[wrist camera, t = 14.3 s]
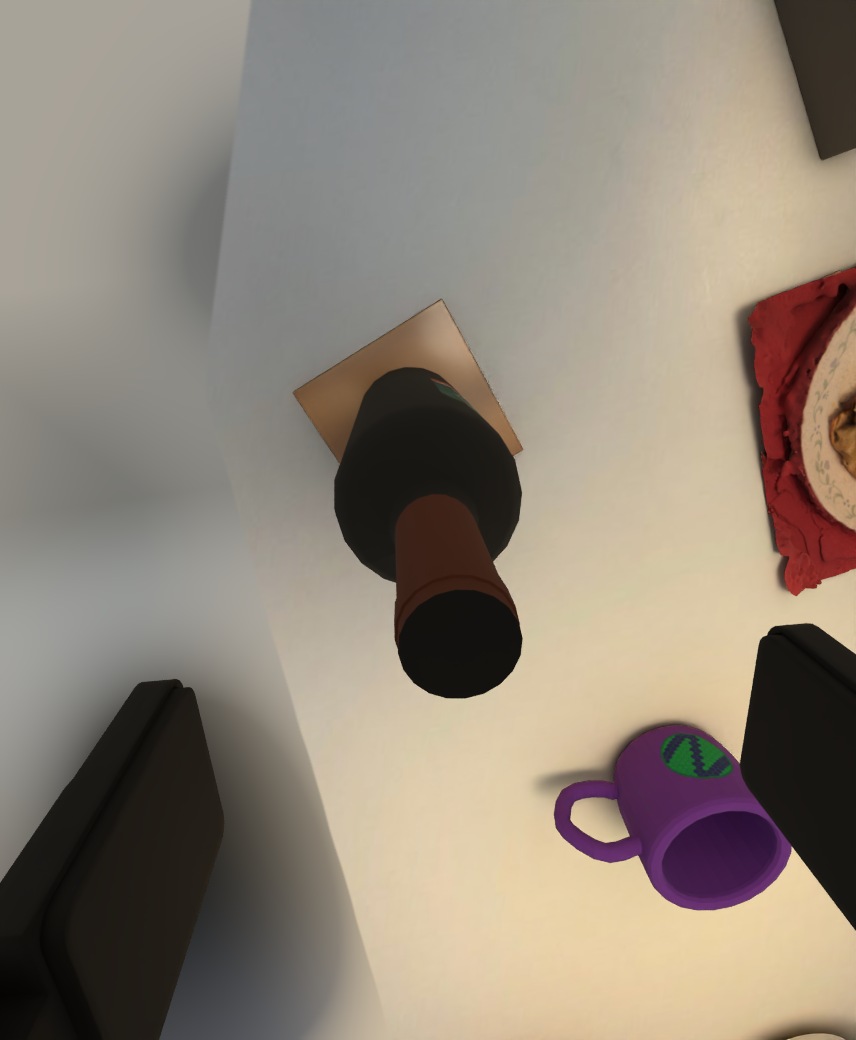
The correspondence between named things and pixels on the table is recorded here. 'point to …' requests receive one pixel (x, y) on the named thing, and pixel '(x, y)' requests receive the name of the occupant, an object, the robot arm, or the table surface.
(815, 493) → the plate with food
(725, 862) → the mug
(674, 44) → the table surface
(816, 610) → the table surface
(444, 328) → the cork mat
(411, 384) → the wine bottle
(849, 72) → the grey square tray frame
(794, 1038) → the bowl
